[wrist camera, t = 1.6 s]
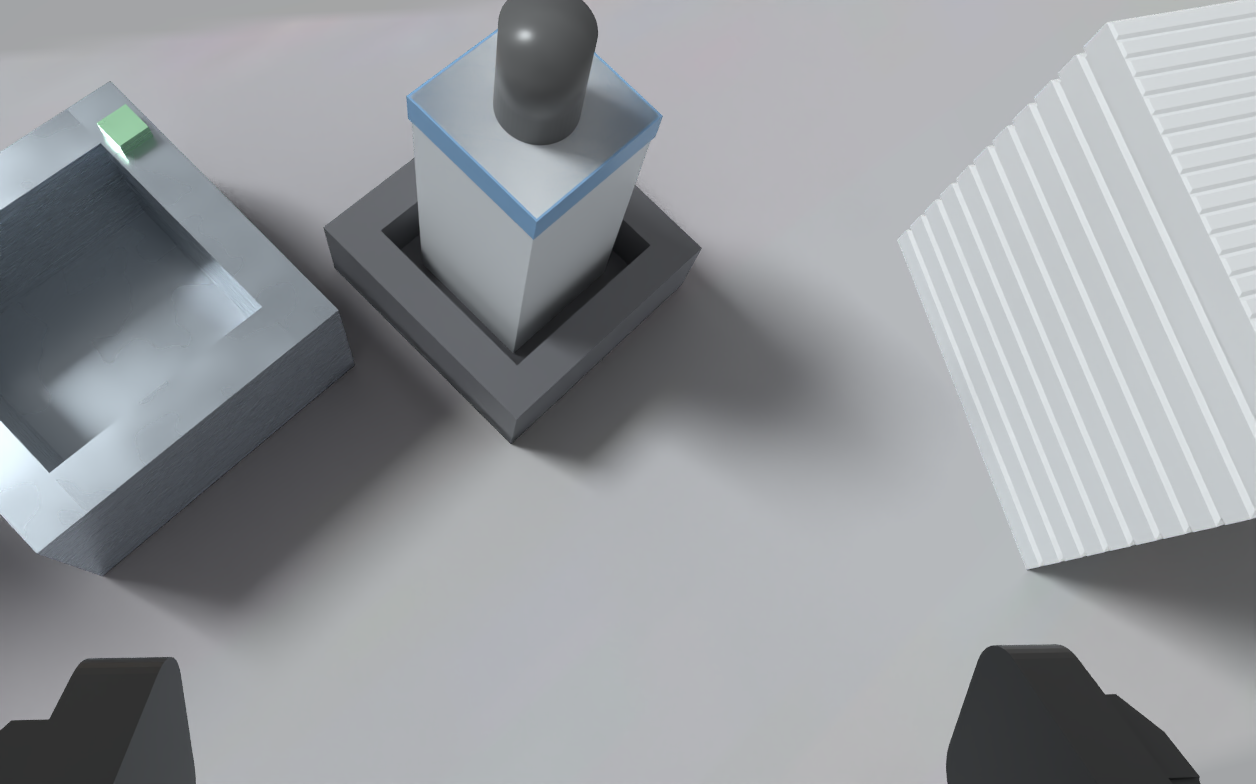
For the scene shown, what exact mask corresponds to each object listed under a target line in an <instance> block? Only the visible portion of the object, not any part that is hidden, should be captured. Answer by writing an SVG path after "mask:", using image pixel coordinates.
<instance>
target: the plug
mask: <svg viewBox="0 0 1256 784" xmlns="http://www.w3.org/2000/svg"><path fill="white" fill-rule="evenodd" d="M597 38H598V27H597V22H596V19H595V17H594V15H593V13H592V11H591V10H590V8H589V7H588V6H587V5H586V4H585V3H584V2H583V1H582V0H507V1H506V2H505V4H504V5H503V7H502V9H501V11H500V15H499V21H498V29H497V30H496V31H494V32H493V33H491V34H490V35H489V36H487V37H486V38H485V39H483V40H482V41H481V42H479V43H478V44H477V45H475V46H474V47H472V48H471V49H470V50H468V51H467V52H466V53H464V54H463V55H462V56H460V57H459V58H458V59H456V60H455V61H453V62H452V63H451V64H449V65H448V66H447V67H445V68H444V69H443V70H441V71H440V72H439V73H437V74H436V75H434V76H433V77H432V78H430V79H429V80H428V81H426V82H425V83H424V84H422V85H421V86H420V87H418V88H417V89H415V90H414V91H413V92H411V93H410V94H409V95H407V96H406V97H407V110H408V119H409V120H410V121H411V122H412V131H413V144H414V158H415V172H416V186H417V199H418V213H419V227H420V241H421V255H422V264H423V265H424V266H425V267H426V268H427V269H428V270H429V271H430V272H431V273H432V274H433V275H434V276H435V277H436V278H437V279H438V280H439V281H440V282H442V283H443V284H444V285H445V286H446V287H447V288H448V289H449V290H450V291H451V292H452V293H453V294H454V295H455V296H456V297H457V298H458V299H459V300H460V301H461V302H462V303H463V304H464V305H465V306H466V307H467V308H468V309H469V310H470V311H471V312H472V313H473V314H474V315H475V316H476V317H477V318H478V319H479V320H480V321H481V322H482V323H483V324H484V325H485V326H486V327H487V328H488V329H489V330H490V331H491V332H492V333H493V334H494V335H495V336H496V337H497V338H498V339H499V340H500V341H501V342H502V343H503V344H504V345H505V346H506V347H507V348H508V349H509V350H510V351H511V352H512V353H514V352H515V351H516V350H518V349H519V348H520V347H521V346H522V345H523V344H524V343H525V342H527V341H528V340H529V339H530V338H531V337H532V336H533V335H534V334H536V333H537V332H538V331H539V330H540V329H541V328H542V327H543V326H544V325H546V324H547V323H548V322H549V321H550V320H551V319H552V318H553V317H555V316H556V315H557V314H558V313H559V312H560V311H561V310H562V309H564V308H565V307H566V306H567V305H568V304H569V303H570V302H571V301H573V300H574V299H575V298H576V297H577V296H578V295H579V294H580V293H581V292H583V291H584V290H585V289H586V288H587V287H588V286H589V285H590V284H592V283H593V282H594V281H595V280H596V279H597V278H598V277H599V276H601V275H602V274H603V273H604V271H605V268H606V265H607V262H608V260H609V257H610V254H611V251H612V248H613V245H614V243H615V240H616V237H617V234H618V231H619V229H620V226H621V223H622V220H623V217H624V214H625V212H626V209H627V206H628V203H629V200H630V197H631V195H632V192H633V189H634V186H635V183H636V181H637V178H638V175H639V172H640V169H641V166H642V164H643V161H644V158H645V155H646V152H647V149H648V147H649V144H650V141H651V140H652V139H653V138H654V137H655V136H656V133H657V131H658V128H659V125H660V122H661V120H662V117H663V116H662V115H661V114H660V113H659V112H658V111H657V110H656V109H655V108H654V107H653V106H651V105H650V104H649V103H648V102H647V101H646V100H645V99H644V98H643V97H642V96H641V95H640V94H639V93H638V92H637V91H635V90H634V89H633V88H632V87H631V86H630V85H629V84H628V83H627V82H626V81H625V80H624V79H623V78H622V77H621V76H619V75H618V74H617V73H616V72H615V71H614V70H613V69H612V68H611V67H610V66H609V65H608V64H607V63H606V62H605V61H603V60H602V59H601V58H600V57H599V56H598V55H597V54H596V53H595V47H596V43H597Z"/></svg>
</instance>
